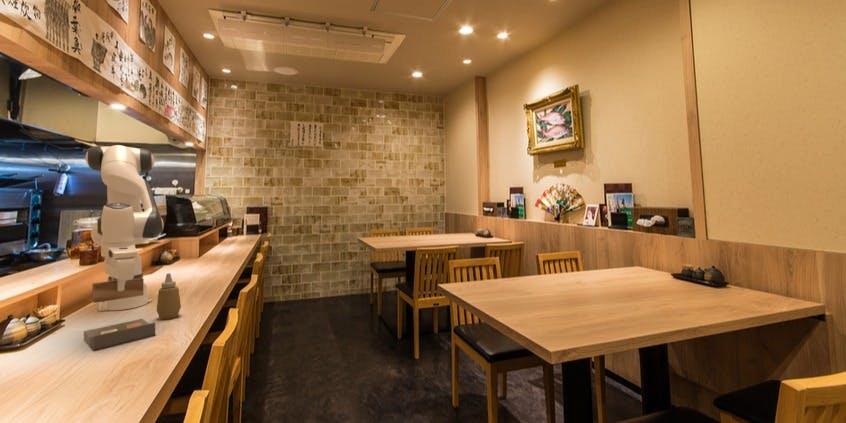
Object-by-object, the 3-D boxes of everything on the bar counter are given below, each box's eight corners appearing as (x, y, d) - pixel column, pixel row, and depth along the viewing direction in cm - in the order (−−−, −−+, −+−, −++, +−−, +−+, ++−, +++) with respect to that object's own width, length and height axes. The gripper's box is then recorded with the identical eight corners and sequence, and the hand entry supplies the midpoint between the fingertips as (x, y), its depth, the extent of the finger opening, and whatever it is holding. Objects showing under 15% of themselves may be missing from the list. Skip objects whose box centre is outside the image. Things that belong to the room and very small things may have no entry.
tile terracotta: (125, 327, 121) (126, 325, 120) (139, 324, 124) (140, 322, 123) (127, 337, 119) (128, 335, 119) (142, 334, 123) (143, 332, 122)
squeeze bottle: (185, 314, 145) (185, 271, 145) (170, 321, 137) (169, 276, 137) (168, 313, 146) (167, 271, 146) (151, 320, 138) (150, 275, 138)
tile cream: (100, 334, 115) (100, 332, 115) (116, 331, 118) (116, 328, 118) (102, 344, 113) (103, 341, 113) (118, 340, 117) (119, 338, 116)
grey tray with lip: (83, 340, 118) (83, 327, 118) (142, 326, 131) (142, 314, 131) (94, 351, 110) (93, 337, 110) (155, 335, 123) (155, 323, 122)
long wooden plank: (92, 301, 116) (92, 283, 116) (140, 293, 127) (140, 277, 127) (94, 302, 114) (94, 284, 114) (143, 295, 125) (143, 278, 125)
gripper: (98, 248, 124) (99, 286, 124) (114, 254, 112) (114, 296, 112) (121, 246, 129) (121, 283, 129) (139, 252, 117) (139, 292, 117)
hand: (118, 289), depth 121 cm, fingers closed on long wooden plank, 3 cm apart
